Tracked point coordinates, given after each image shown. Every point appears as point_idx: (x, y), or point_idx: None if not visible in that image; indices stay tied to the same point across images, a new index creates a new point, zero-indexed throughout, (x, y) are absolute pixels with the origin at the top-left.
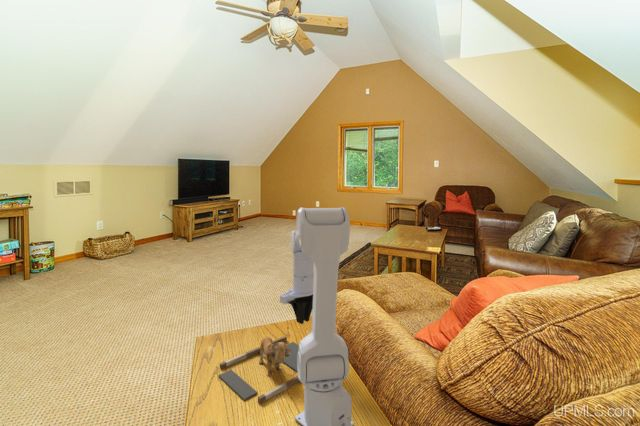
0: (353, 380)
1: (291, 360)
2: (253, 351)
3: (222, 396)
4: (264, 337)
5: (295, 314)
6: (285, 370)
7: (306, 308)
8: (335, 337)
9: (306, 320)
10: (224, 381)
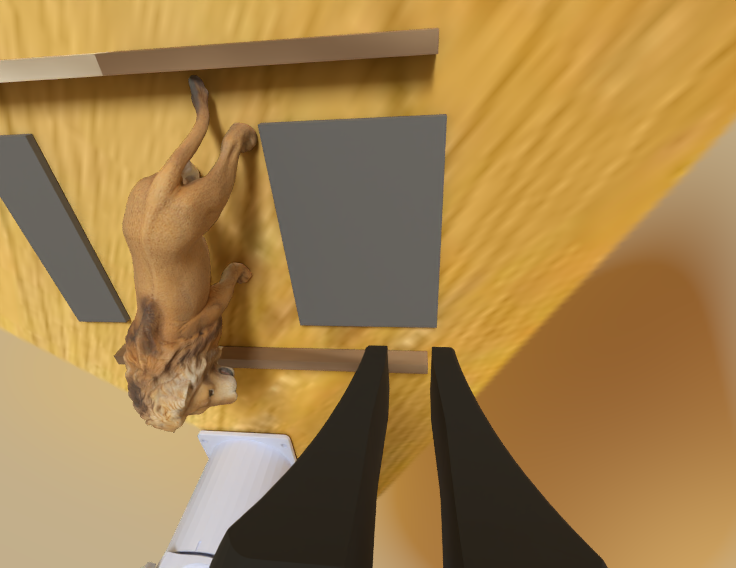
0: (426, 437)
1: (320, 261)
2: (154, 71)
3: (8, 259)
4: (138, 210)
5: (347, 393)
6: (268, 284)
7: (442, 488)
8: None
9: (430, 391)
10: (3, 194)
